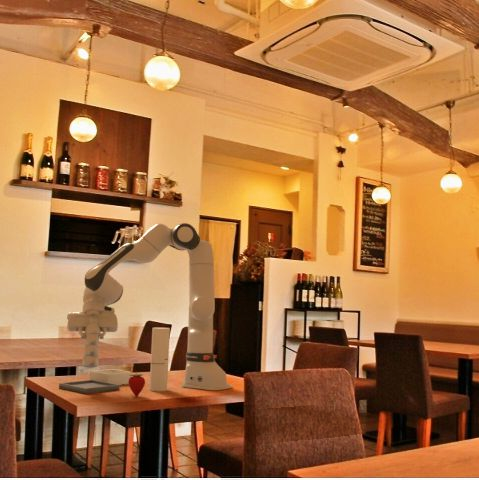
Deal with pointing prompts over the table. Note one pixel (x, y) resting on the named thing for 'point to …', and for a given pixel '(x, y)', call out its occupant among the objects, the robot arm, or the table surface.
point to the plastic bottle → (91, 344)
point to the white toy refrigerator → (159, 359)
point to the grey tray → (89, 386)
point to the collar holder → (111, 376)
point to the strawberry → (136, 383)
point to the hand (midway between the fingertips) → (92, 337)
